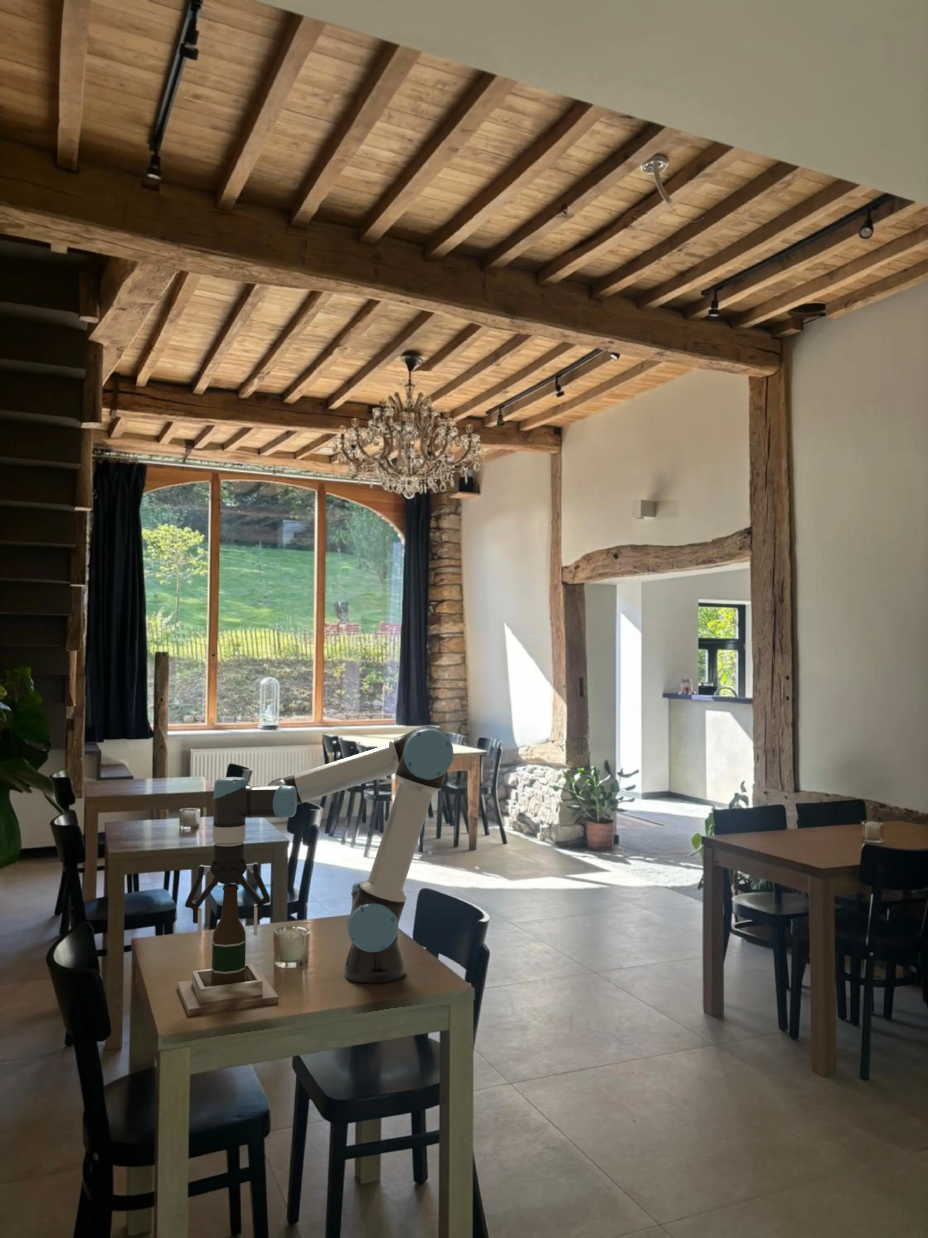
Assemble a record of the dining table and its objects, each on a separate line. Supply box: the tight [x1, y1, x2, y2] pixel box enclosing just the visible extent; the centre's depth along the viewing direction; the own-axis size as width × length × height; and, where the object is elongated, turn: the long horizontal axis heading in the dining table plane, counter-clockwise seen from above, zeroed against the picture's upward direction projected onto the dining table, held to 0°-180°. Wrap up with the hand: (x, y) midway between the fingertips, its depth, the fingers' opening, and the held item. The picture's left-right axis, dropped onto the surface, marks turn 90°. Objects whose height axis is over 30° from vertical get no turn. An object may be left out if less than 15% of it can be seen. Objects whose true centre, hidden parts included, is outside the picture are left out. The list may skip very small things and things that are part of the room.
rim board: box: [177, 963, 279, 1017], centre depth 217 cm, size 20×20×4 cm
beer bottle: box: [211, 883, 247, 986], centre depth 218 cm, size 8×8×24 cm
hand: (227, 935), depth 217 cm, fingers open, 12 cm apart
